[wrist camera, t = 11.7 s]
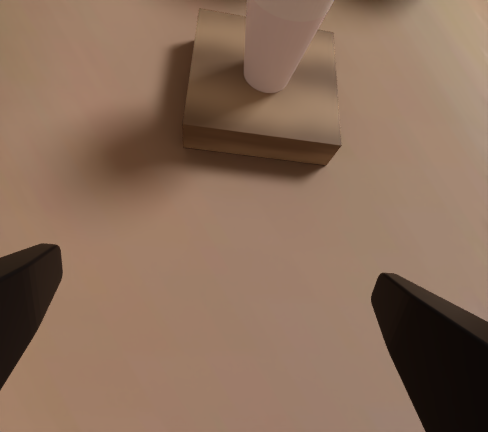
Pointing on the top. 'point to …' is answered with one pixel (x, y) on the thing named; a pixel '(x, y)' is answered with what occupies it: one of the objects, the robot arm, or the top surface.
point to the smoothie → (278, 39)
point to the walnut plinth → (259, 98)
